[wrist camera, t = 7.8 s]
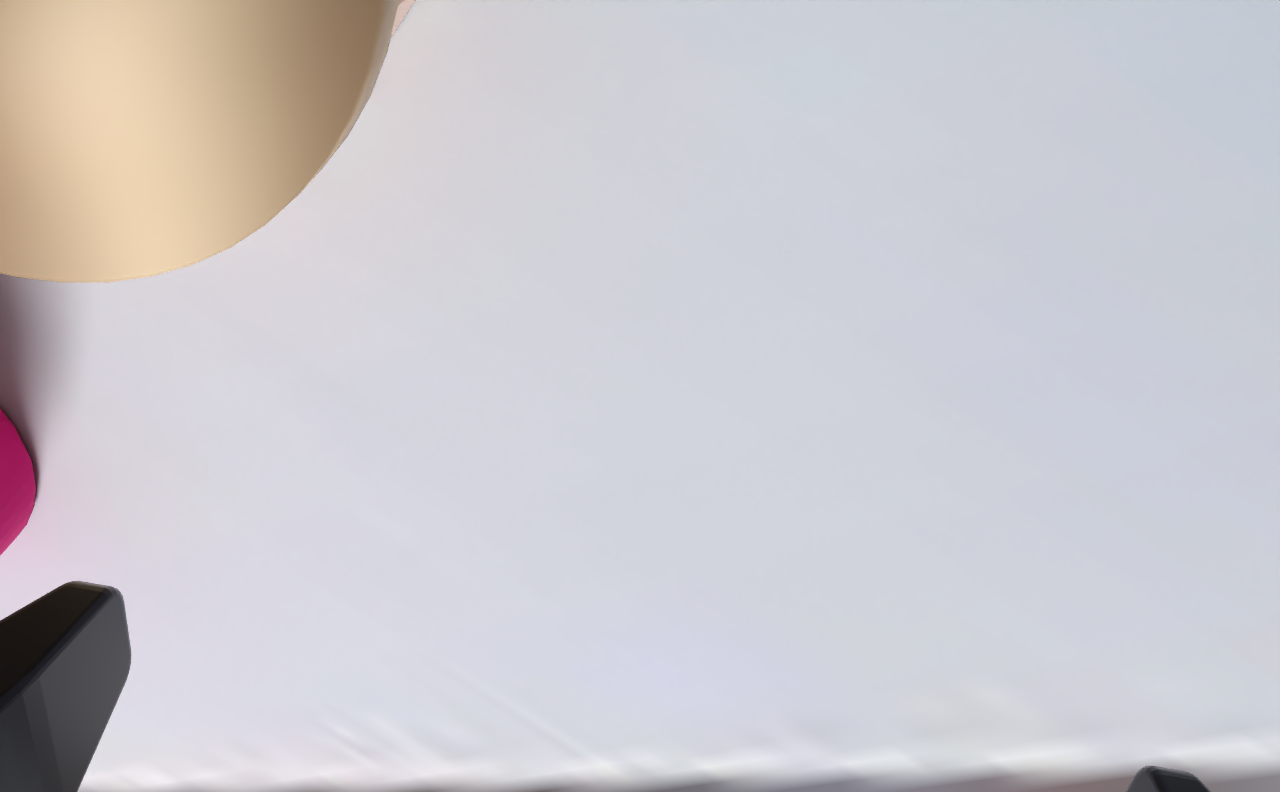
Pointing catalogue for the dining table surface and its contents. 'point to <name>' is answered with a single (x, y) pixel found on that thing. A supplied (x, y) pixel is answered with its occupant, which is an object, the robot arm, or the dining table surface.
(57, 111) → the lid
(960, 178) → the dining table surface
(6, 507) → the pepper mill
